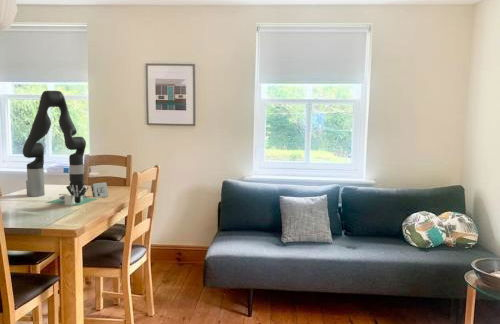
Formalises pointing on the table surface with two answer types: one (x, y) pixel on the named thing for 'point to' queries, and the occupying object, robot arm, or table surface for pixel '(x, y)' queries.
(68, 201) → the latch
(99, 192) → the electrical switch
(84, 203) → the board
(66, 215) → the table surface
